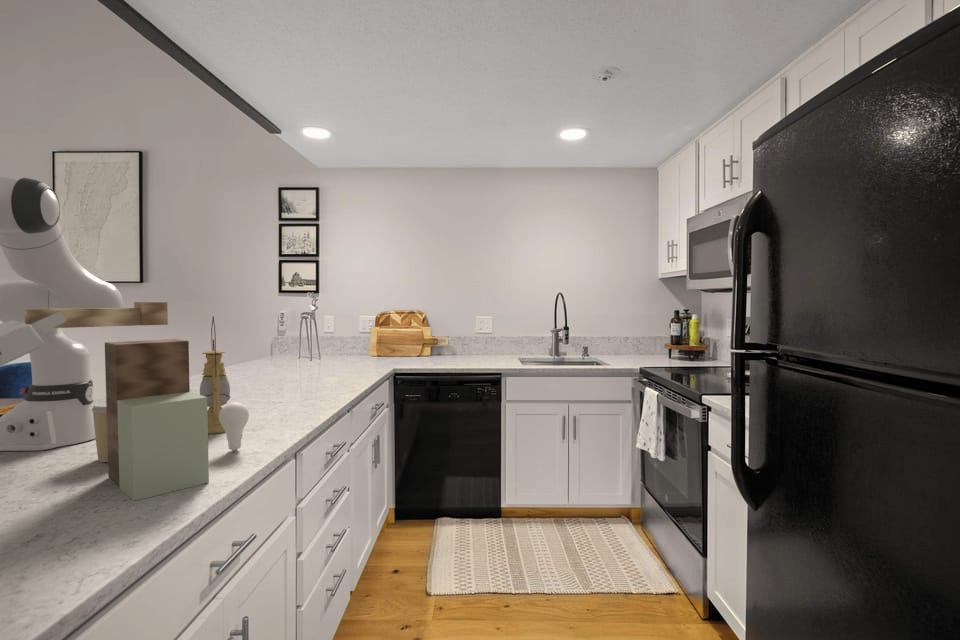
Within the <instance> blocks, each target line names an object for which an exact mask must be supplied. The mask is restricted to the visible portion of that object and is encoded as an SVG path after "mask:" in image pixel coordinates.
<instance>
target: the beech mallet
mask: <svg viewBox="0 0 960 640" xmlns="http://www.w3.org/2000/svg"><path fill="white" fill-rule="evenodd" d="M133 305H134V307H122V308H81V309H25V324H31V323H33V322H36V321H39V320H41V319H43V318H46V317H47V316H49V315H51V314H54V313H56V312H61V313H62V314H63V315H64V316H65V318H66V322H64V323H62V324H60V325H58V326H56V327H55V328H62V329H68V328H69V329H70V328H98V327H99V328H100V327H102V328H103V327H105V328H106V327H130V326H133V327H134V326H166V325H167V326H169V324H168V323H169V322H168V321H169V320H168V319H169V317H168V316H169V315H168V311H169V310H168V302H165V301H164V302H163V301H148V302H147V301H145V302H144V301H143V302H142V301H139V302H138V301H136V302H135V301H134V303H133Z"/></svg>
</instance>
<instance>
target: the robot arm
mask: <svg viewBox="0 0 960 640" xmlns="http://www.w3.org/2000/svg"><path fill="white" fill-rule="evenodd" d="M60 214H61V206H60V200H59V197H58V195H57V194H56V192H55V191H54V189H52V187H50V186H49V185H48V184H46V183H45V182H43V181H41V180H36V179H33V178H29V177H21V178H20V177H19V178H18V177H14V176H7V175H1V174H0V249H1V250H2V253H3V254H4V257H5V258H6V260H7V263H8V265H9V267H10V268H11V269H12V271H13V272H14V273H15V274H16V275H18V276H19V277H21V278H23V279H21V280H16V281H15V280H14V281H9V282H4V283H1V284H0V322H2V323H0V367H2V366H5V365H6V364H9V363H11V362H14V361H15V360H17V359H20V358H22V357H23V356H25V355H28V354H29V359H30V368H31V379H32V380H31V381H32V383H31V384H29V385H28V386H25V388H21V389H19V390H18V391H19V393H18V394H19V395H23V394H24V397H23V401H21V402H20V403H19V404H17V405H16V406H14V407H12V409H10V410H8V411H7V412H6V413H5V414H3V415H2V416H0V452H2V451H4V452H5V451H6V452H7V451H8V452H9V451H10V452H11V451H15V452H17V451H22V452H23V451H45V450H50V449H51V450H52V449H54V448H59V447H64V446H65V447H66V446H71V445H75V444H79V443H84V442H88V441H90V440H94V439H96V437H95V429H94V419H93V412H92V408H93V406H94V405H93V402H94V385H93V383H94V382H93V380H92V379H91V359H90V358H91V357H90V356H91V353H90V350H88V348H87V347H86V346H85V345H84V344H82V343H81V342H79V341H77V340H74V339H71V338H69V337H68V336H67V335H65V333H64V332H63V328H55V327H56V326H58V325H60V324H62V323H64V322H66V318H65V316H64V315H63V314H62V313H61V312H56V313H54V314H51V315H49V316H47V317H46V318H43V319H41V320H39V321H36V322H33V323H31V324H25V309H81V308H124V299H123V296H122V293H121V292H120V291H119V289H118V288H117V287H116V286H115V285H114V284H112V283H110V282H109V281H108V282H107V281H105V280H104V279H101V278H99V277H98V276H96V275H94V274H93V273H91V272H90V271H89V270H87V269H86V268H85V267H83V265H81V263H79V261H78V260H77V259H76V258H75V256H74V255H73V254H72V251H71V249H70V247H69V244H68V243H67V240H66V238H65V236H64V234H63V231H62V227H61V226H60V223H59V220H60ZM20 391H21V392H20Z"/></svg>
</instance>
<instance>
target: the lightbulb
mask: <svg viewBox="0 0 960 640" xmlns="http://www.w3.org/2000/svg"><path fill="white" fill-rule="evenodd" d="M249 417H250V413H249V409H248V408H247V407H246V406H245V404H243V403H240V402H237V401H236V402H235V401H233V402H229V403H226V404H225V405H223V407H222V409H221V411H220V413H219V421H220V423H221V425H222V426H223V428H224V430H225V432H224V433H225V435H226V441H227V442H228V444H227V446H228V450H231V451H232V452H237V451H238V450H239V449H241V446H242V439H243V433H244V429H245V427H246V425H247V423H248V421H249Z"/></svg>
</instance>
